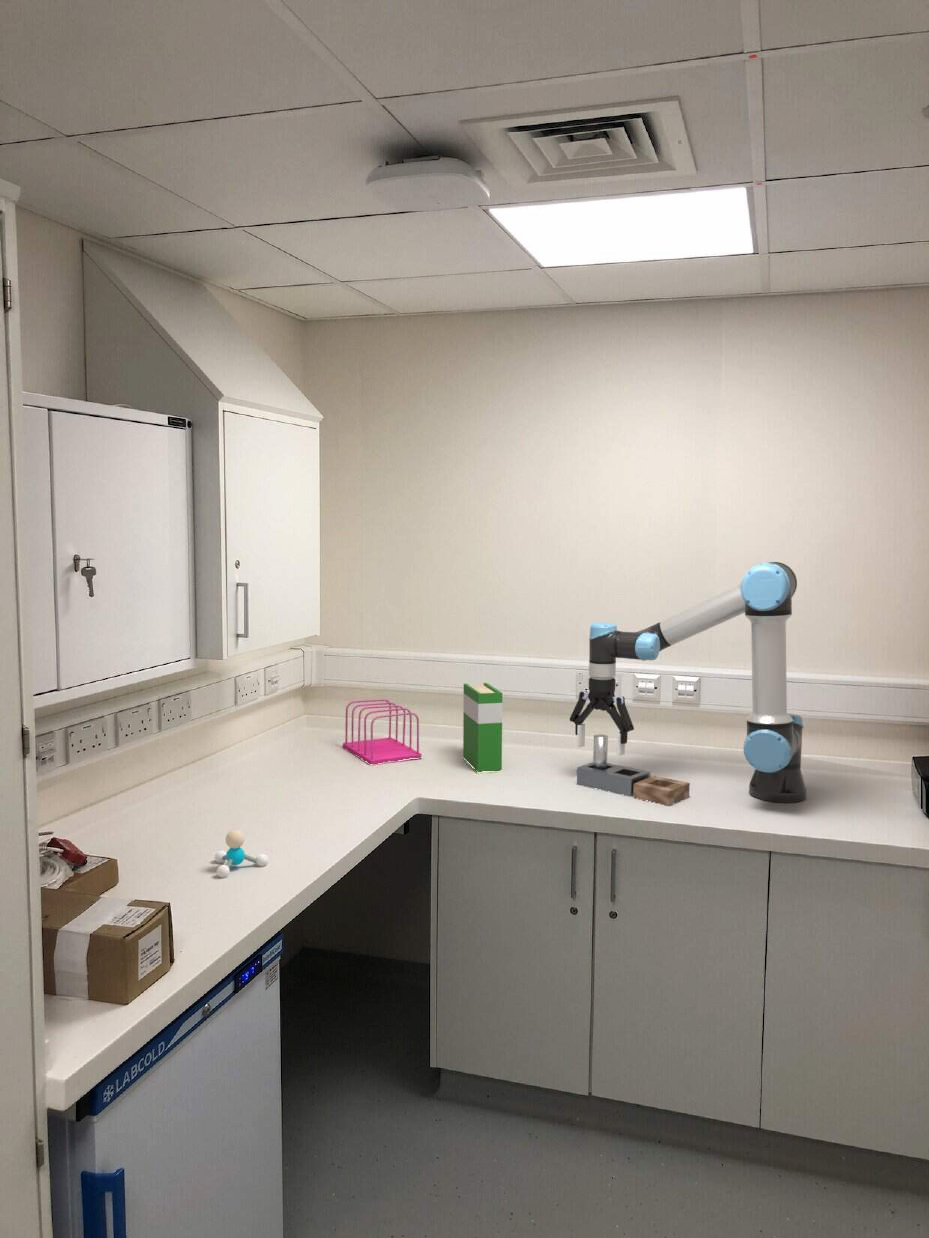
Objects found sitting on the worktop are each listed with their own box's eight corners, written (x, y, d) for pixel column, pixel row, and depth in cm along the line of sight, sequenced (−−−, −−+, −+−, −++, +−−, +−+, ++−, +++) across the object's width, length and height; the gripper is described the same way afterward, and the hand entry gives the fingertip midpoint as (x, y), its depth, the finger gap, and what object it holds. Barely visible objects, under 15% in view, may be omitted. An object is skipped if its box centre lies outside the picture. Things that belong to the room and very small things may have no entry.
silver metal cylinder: (609, 783, 280) (610, 736, 278) (601, 786, 277) (602, 738, 275) (597, 781, 282) (598, 733, 281) (590, 783, 279) (591, 736, 278)
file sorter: (391, 742, 328) (391, 696, 327) (422, 759, 306) (422, 710, 304) (342, 748, 320) (342, 701, 319) (370, 765, 298) (370, 715, 297)
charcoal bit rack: (649, 789, 274) (650, 771, 274) (631, 796, 267) (631, 779, 266) (596, 777, 286) (596, 760, 286) (576, 784, 279) (577, 767, 278)
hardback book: (463, 758, 307) (463, 683, 304) (485, 757, 309) (486, 682, 306) (477, 773, 290) (478, 693, 287) (501, 771, 292) (502, 692, 289)
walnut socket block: (689, 797, 267) (689, 782, 266) (668, 806, 259) (669, 791, 258) (654, 789, 274) (654, 775, 274) (633, 797, 266) (633, 783, 265)
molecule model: (232, 883, 204) (232, 843, 203) (191, 872, 210) (190, 833, 209) (270, 865, 214) (270, 827, 213) (230, 855, 220) (230, 818, 219)
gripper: (647, 680, 271) (645, 755, 273) (573, 670, 287) (572, 741, 289) (633, 684, 265) (631, 760, 267) (558, 673, 281) (557, 745, 284)
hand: (600, 750), depth 278 cm, fingers open, 13 cm apart
